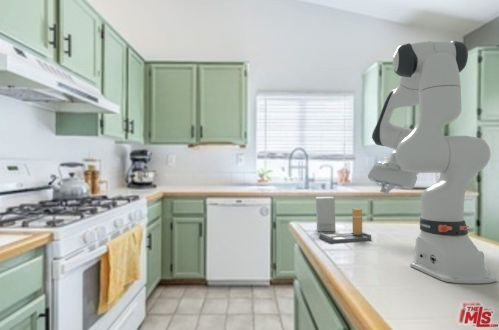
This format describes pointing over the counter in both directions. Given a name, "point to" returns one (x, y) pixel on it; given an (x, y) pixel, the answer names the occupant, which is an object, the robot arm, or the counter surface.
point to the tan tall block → (357, 222)
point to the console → (344, 237)
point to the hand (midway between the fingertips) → (383, 192)
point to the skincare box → (325, 213)
